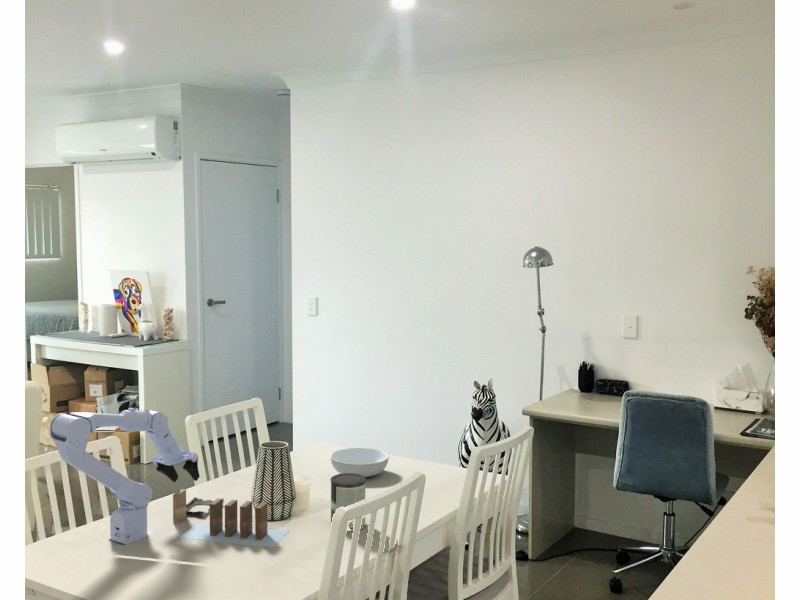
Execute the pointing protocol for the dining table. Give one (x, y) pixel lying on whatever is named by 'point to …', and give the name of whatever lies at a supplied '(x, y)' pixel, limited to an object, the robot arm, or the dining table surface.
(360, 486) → the coffee can
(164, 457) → the robot arm
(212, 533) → the domino
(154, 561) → the dining table surface
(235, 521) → the domino
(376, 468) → the serving bowl
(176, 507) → the oak domino
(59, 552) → the dining table surface
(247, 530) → the domino
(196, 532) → the board
